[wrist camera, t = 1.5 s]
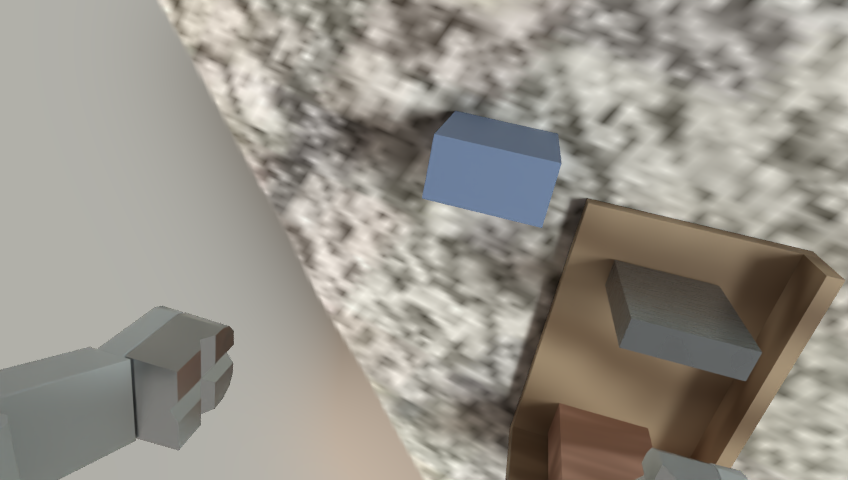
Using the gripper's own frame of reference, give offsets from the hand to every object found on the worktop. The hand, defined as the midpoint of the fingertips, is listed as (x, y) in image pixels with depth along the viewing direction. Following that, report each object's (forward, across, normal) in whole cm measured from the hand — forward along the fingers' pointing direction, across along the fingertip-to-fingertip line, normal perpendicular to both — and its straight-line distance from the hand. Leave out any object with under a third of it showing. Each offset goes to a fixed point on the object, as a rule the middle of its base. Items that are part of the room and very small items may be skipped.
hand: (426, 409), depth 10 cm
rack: (+20, -11, +9) cm, 25 cm away
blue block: (+20, 0, -1) cm, 20 cm away
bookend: (+19, -10, +4) cm, 22 cm away
